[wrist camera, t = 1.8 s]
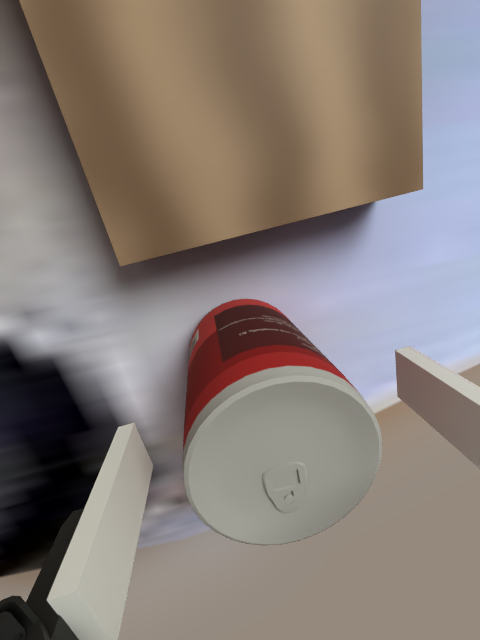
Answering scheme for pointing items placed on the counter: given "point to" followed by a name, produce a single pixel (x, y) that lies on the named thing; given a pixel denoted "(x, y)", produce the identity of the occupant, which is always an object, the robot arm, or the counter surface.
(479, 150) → the counter surface
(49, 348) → the counter surface
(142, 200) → the walnut base
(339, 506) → the canned food
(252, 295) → the counter surface
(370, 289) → the counter surface
